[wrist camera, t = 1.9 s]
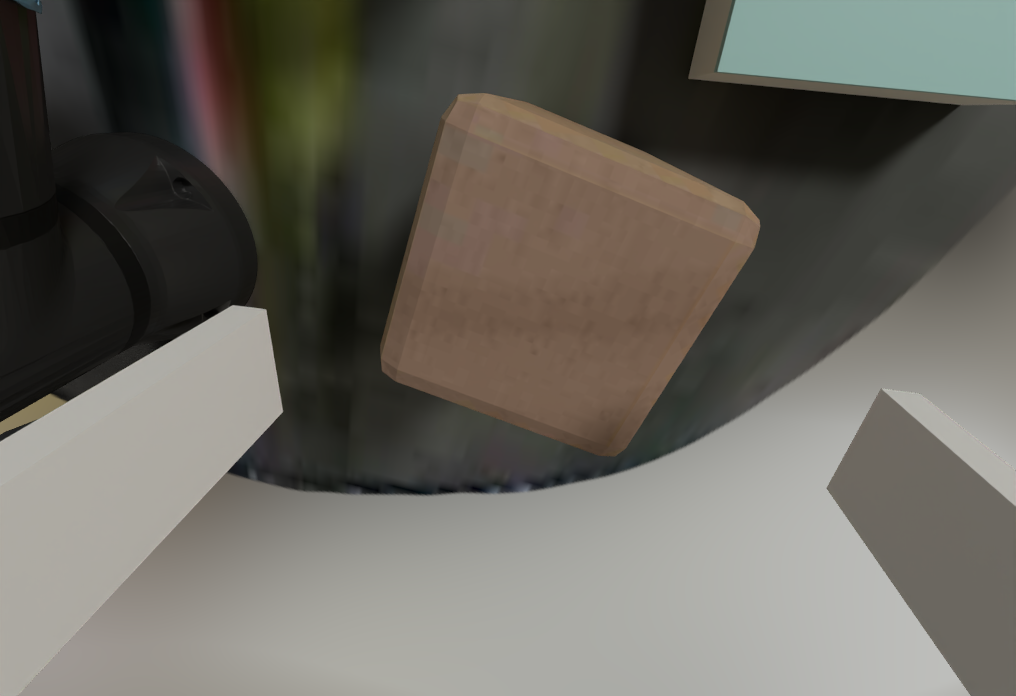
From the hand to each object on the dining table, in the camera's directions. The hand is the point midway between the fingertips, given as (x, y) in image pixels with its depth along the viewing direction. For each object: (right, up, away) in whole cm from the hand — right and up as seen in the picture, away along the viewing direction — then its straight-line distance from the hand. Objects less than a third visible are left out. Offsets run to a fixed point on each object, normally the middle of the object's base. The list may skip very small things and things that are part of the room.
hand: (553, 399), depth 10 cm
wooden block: (+2, +11, +22) cm, 25 cm away
